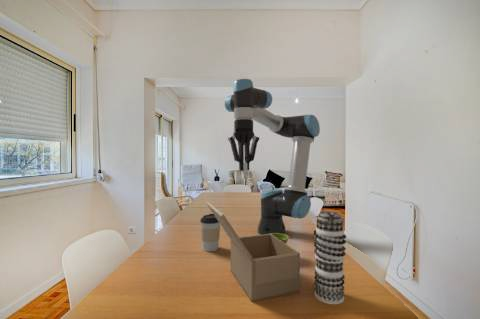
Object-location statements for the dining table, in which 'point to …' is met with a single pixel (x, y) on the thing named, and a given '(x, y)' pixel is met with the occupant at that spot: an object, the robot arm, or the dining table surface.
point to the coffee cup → (210, 232)
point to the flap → (228, 229)
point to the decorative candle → (329, 258)
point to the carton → (266, 267)
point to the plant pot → (281, 237)
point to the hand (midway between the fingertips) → (244, 178)
